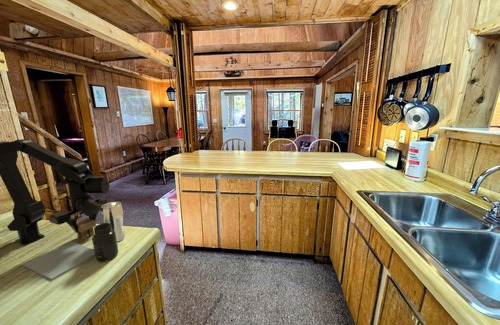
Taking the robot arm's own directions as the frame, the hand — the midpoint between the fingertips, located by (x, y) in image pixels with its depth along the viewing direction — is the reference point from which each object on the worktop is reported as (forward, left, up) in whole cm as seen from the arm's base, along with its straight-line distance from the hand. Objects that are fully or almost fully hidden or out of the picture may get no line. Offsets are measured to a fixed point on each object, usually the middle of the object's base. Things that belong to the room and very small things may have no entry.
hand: (84, 229), depth 85 cm
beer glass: (+13, +4, -4) cm, 14 cm away
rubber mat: (+8, -12, -3) cm, 15 cm away
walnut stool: (0, 0, -3) cm, 3 cm away
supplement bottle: (+20, -5, -4) cm, 21 cm away
